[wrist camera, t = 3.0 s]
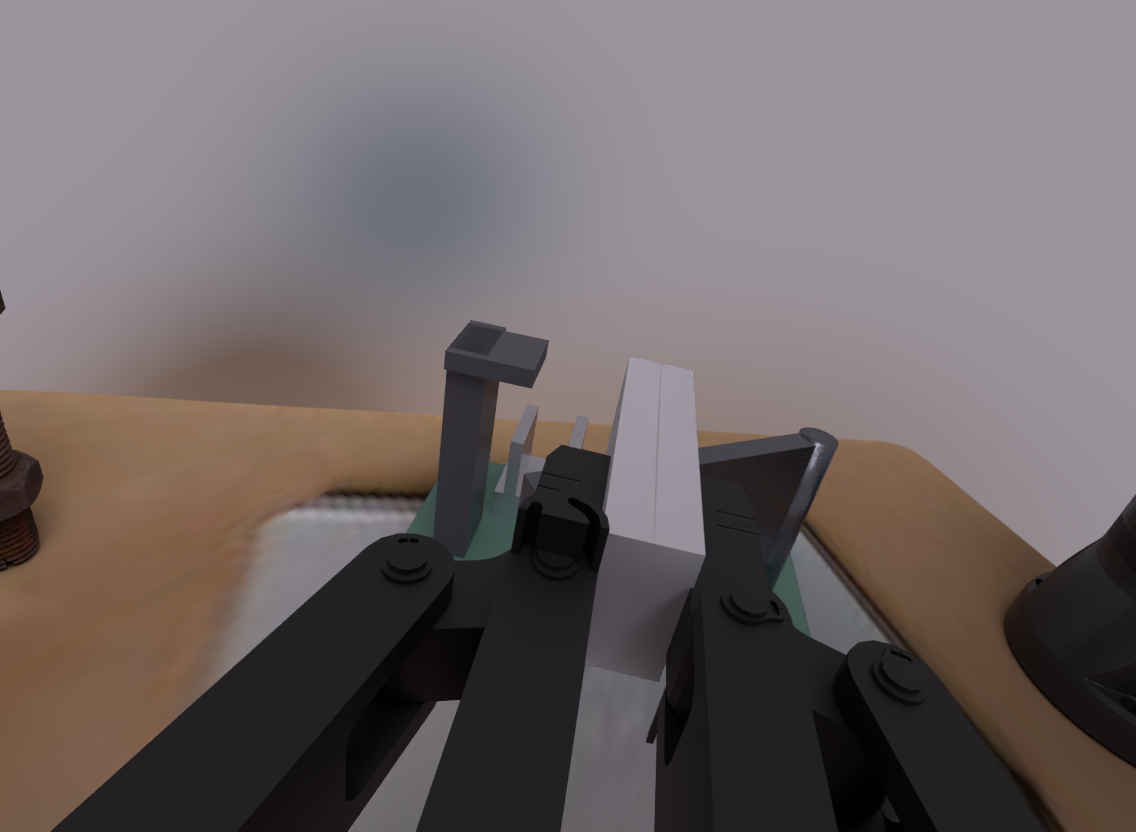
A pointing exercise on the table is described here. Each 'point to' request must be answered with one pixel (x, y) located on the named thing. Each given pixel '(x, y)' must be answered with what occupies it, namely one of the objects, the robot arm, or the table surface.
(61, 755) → the table surface
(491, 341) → the dark grey capped post
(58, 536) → the table surface
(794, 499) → the dark grey rectangular panel
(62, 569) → the table surface
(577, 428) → the heat sink
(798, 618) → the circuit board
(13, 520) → the bolt
